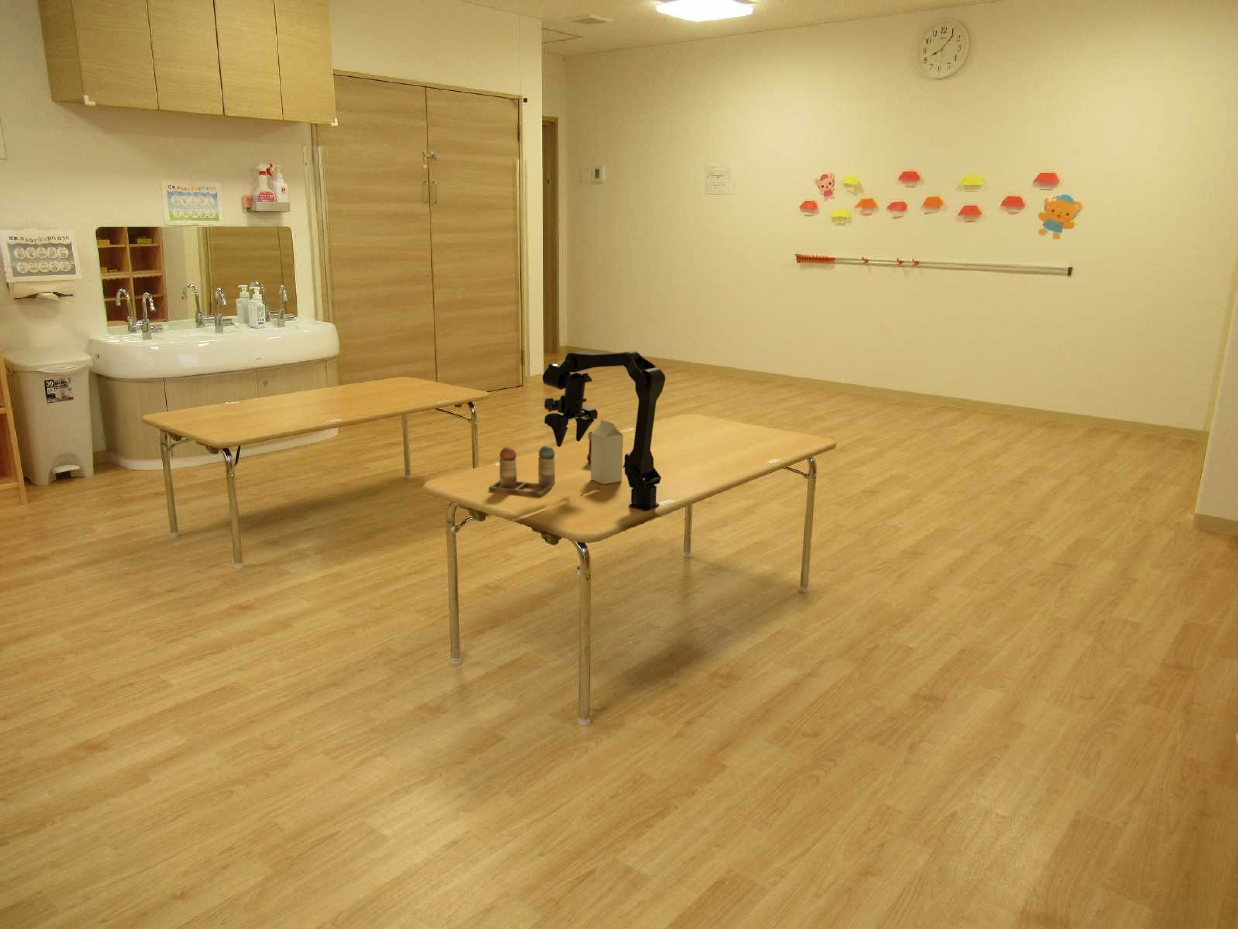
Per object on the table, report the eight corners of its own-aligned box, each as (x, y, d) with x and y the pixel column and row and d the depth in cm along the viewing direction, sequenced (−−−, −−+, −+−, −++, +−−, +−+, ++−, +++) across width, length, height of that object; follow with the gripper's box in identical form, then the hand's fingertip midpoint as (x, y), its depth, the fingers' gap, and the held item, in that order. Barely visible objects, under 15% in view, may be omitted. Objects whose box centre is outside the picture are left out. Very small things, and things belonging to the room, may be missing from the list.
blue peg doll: (558, 486, 275) (558, 445, 272) (547, 489, 271) (547, 448, 268) (545, 483, 278) (545, 443, 274) (534, 486, 274) (535, 446, 270)
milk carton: (603, 485, 277) (604, 424, 272) (590, 479, 283) (591, 420, 278) (622, 481, 281) (623, 422, 276) (608, 476, 287) (610, 418, 282)
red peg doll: (520, 488, 269) (520, 447, 265) (508, 492, 265) (508, 450, 261) (507, 485, 272) (507, 444, 268) (496, 488, 268) (495, 447, 264)
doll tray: (551, 491, 269) (551, 485, 269) (541, 499, 261) (541, 492, 261) (500, 485, 274) (500, 479, 273) (489, 493, 266) (489, 487, 265)
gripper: (572, 382, 275) (566, 431, 281) (532, 391, 261) (527, 441, 266) (601, 391, 270) (595, 441, 275) (562, 400, 255) (556, 452, 260)
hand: (568, 443), depth 269 cm, fingers open, 9 cm apart
